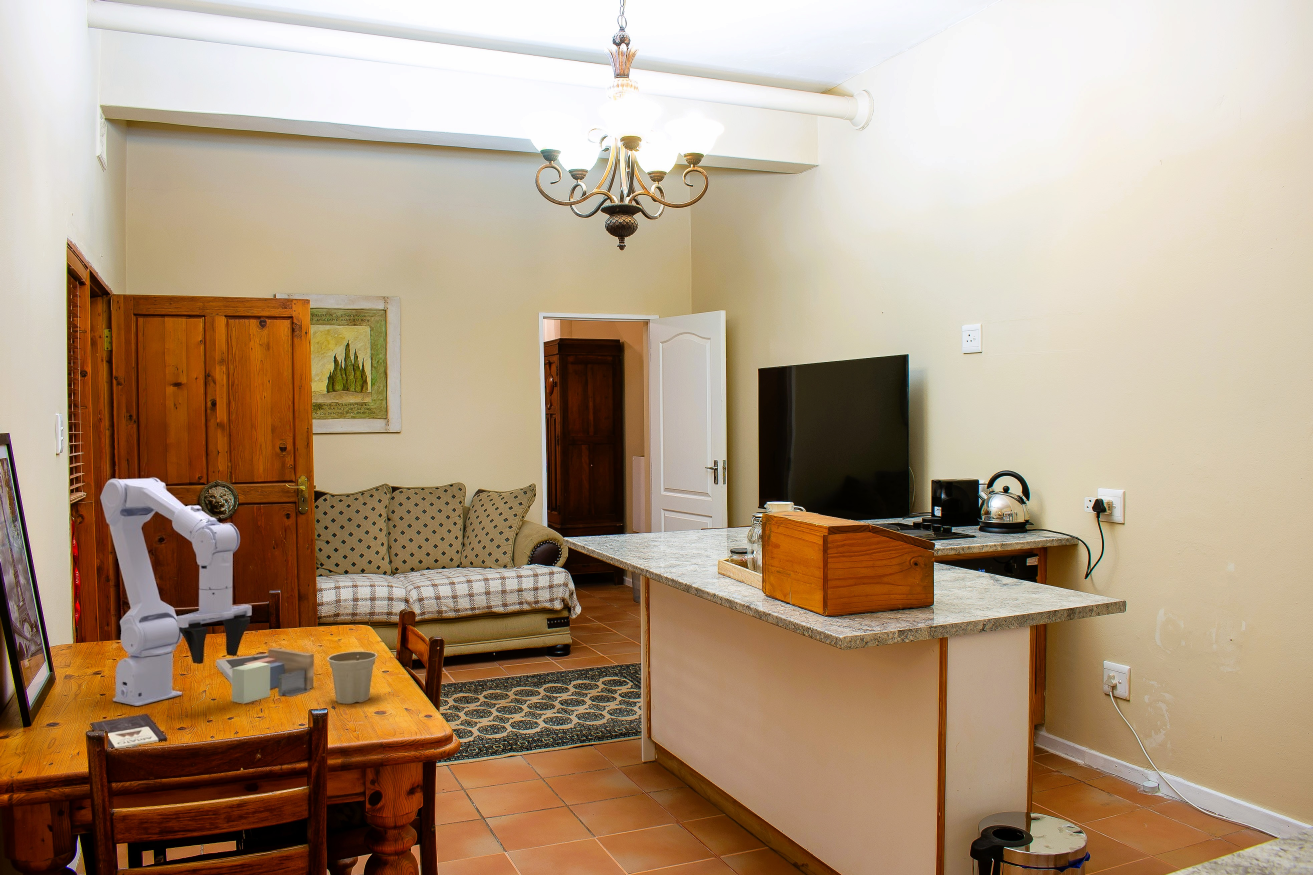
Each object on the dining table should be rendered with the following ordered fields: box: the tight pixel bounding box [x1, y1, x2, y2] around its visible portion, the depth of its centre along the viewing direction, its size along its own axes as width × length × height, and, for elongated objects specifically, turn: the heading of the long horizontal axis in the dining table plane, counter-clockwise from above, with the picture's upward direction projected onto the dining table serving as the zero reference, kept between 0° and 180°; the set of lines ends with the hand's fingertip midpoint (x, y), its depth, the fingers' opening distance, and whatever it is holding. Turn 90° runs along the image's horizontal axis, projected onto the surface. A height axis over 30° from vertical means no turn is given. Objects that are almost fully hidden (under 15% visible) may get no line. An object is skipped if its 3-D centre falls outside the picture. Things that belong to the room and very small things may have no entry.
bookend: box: [277, 669, 312, 698], centre depth 185 cm, size 6×3×4 cm, turn 152°
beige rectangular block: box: [231, 662, 271, 704], centre depth 180 cm, size 6×4×6 cm, turn 152°
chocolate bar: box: [89, 713, 168, 749], centre depth 158 cm, size 9×1×18 cm
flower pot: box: [326, 650, 378, 705], centre depth 180 cm, size 9×9×9 cm
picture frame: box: [215, 653, 268, 685], centre depth 203 cm, size 16×3×21 cm
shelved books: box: [244, 658, 284, 690], centre depth 189 cm, size 6×5×5 cm
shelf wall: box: [267, 647, 315, 689], centre depth 191 cm, size 2×12×7 cm, turn 62°
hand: (215, 659), depth 173 cm, fingers open, 7 cm apart
